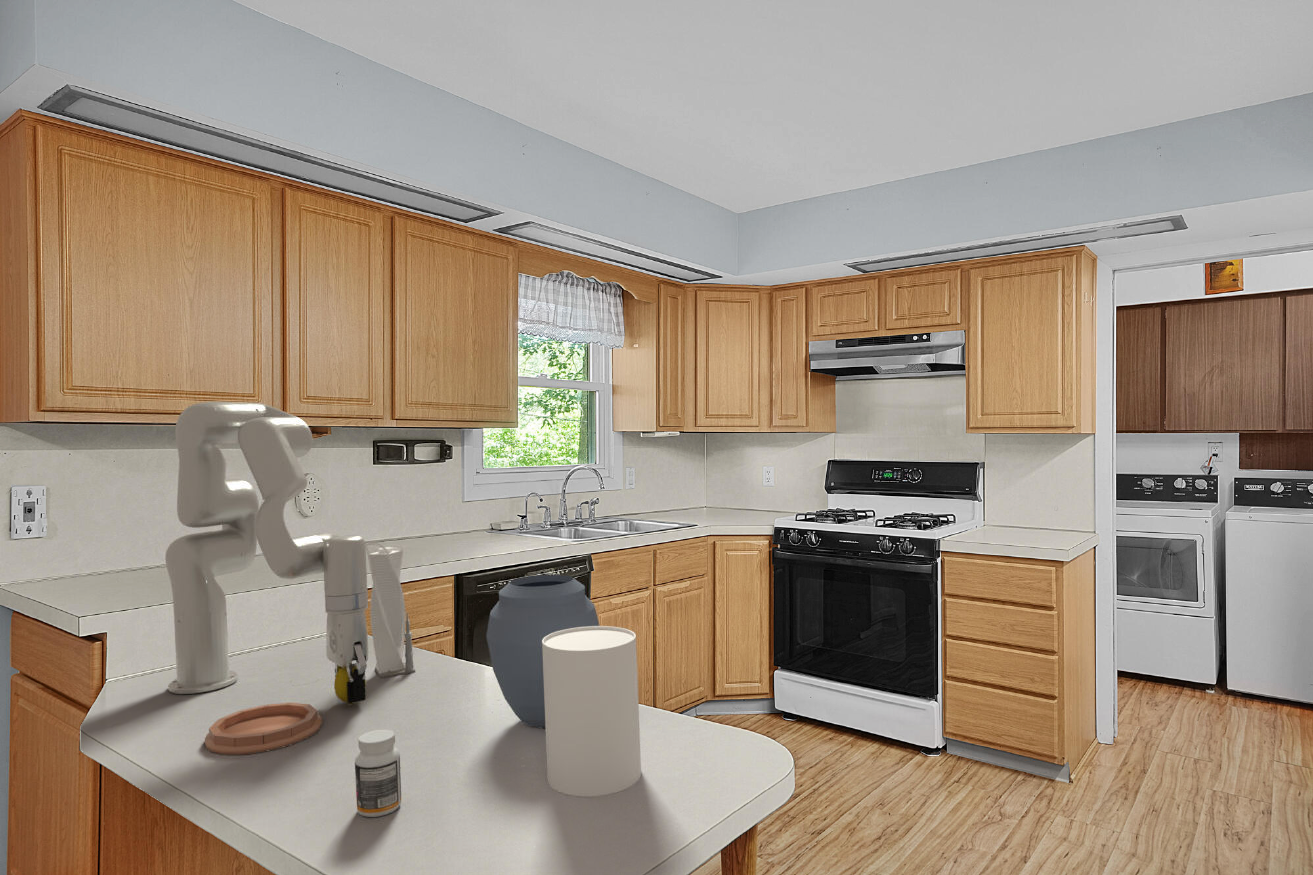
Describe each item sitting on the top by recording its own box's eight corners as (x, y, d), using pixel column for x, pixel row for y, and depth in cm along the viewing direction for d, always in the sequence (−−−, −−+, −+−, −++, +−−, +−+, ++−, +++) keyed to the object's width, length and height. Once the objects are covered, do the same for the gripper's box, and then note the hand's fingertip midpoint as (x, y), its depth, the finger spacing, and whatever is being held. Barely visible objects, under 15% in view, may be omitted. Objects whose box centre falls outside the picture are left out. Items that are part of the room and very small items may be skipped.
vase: (621, 726, 135) (615, 582, 135) (507, 751, 126) (501, 597, 126) (580, 694, 153) (575, 566, 152) (477, 713, 144) (472, 578, 144)
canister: (555, 757, 124) (550, 627, 123) (643, 754, 123) (638, 624, 123) (540, 797, 110) (534, 652, 110) (638, 795, 110) (632, 649, 109)
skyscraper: (373, 679, 167) (368, 544, 167) (367, 669, 174) (361, 540, 174) (415, 671, 171) (409, 540, 171) (406, 662, 178) (401, 537, 178)
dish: (195, 733, 139) (194, 719, 139) (304, 707, 151) (303, 694, 151) (218, 764, 126) (217, 748, 126) (336, 733, 137) (335, 718, 137)
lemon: (356, 710, 148) (354, 667, 148) (329, 709, 149) (327, 666, 149) (372, 700, 154) (370, 658, 154) (346, 699, 155) (344, 658, 155)
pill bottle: (363, 800, 111) (360, 729, 111) (406, 797, 112) (403, 726, 112) (351, 820, 105) (348, 745, 105) (396, 817, 106) (393, 742, 106)
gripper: (311, 598, 156) (315, 692, 156) (341, 612, 142) (346, 714, 143) (350, 592, 160) (354, 683, 161) (383, 605, 147) (387, 703, 147)
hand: (350, 696), depth 152 cm, fingers closed on lemon, 5 cm apart
